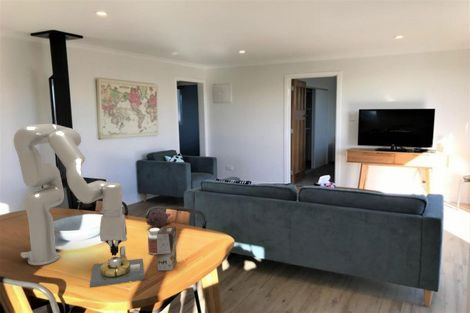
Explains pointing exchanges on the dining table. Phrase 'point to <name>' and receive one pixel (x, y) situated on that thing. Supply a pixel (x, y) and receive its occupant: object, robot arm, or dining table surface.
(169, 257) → the coffee box
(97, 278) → the plate
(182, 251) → the dining table surface
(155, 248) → the pill bottle
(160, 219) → the pine cone
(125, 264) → the gold ring
